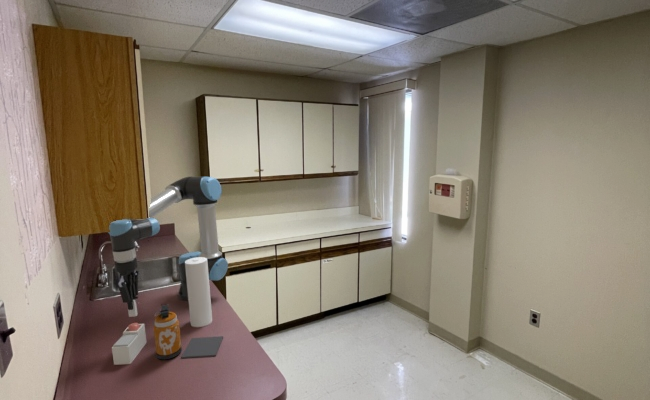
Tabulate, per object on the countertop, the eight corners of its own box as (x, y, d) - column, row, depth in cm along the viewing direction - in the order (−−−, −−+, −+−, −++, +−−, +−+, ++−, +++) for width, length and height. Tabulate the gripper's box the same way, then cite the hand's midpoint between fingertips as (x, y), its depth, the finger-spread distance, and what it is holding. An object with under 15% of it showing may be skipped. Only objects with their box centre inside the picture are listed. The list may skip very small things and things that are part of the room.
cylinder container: (205, 328, 154) (199, 263, 149) (186, 326, 156) (180, 262, 151) (216, 317, 163) (211, 256, 158) (198, 316, 165) (192, 255, 160)
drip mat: (191, 339, 145) (191, 338, 145) (223, 337, 146) (223, 336, 146) (181, 358, 132) (181, 356, 132) (215, 356, 133) (215, 354, 133)
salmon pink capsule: (133, 341, 142) (131, 322, 140) (142, 340, 142) (140, 322, 141) (128, 346, 138) (126, 327, 137) (138, 345, 138) (135, 327, 137)
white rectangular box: (132, 343, 143) (129, 324, 142) (147, 342, 143) (144, 323, 142) (114, 364, 129) (111, 343, 128) (130, 363, 130) (128, 342, 128)
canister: (156, 363, 129) (150, 313, 126) (157, 347, 139) (152, 301, 136) (182, 357, 133) (177, 308, 130) (181, 342, 143) (176, 296, 140)
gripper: (123, 254, 140) (131, 308, 145) (106, 266, 128) (115, 324, 132) (142, 253, 141) (149, 307, 145) (127, 265, 128) (135, 323, 132)
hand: (133, 315), depth 138 cm, fingers closed
